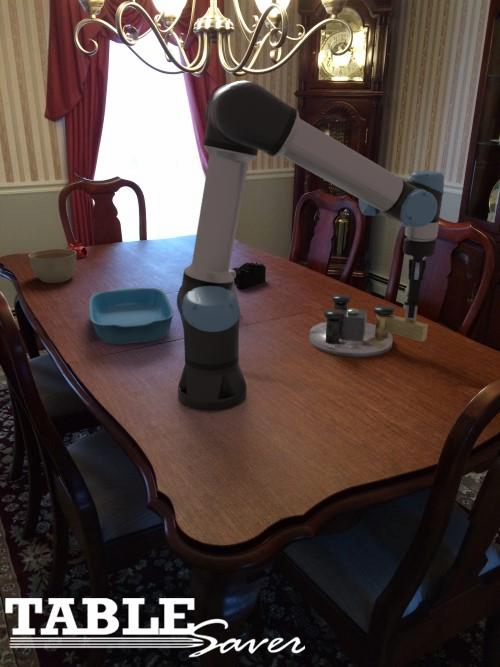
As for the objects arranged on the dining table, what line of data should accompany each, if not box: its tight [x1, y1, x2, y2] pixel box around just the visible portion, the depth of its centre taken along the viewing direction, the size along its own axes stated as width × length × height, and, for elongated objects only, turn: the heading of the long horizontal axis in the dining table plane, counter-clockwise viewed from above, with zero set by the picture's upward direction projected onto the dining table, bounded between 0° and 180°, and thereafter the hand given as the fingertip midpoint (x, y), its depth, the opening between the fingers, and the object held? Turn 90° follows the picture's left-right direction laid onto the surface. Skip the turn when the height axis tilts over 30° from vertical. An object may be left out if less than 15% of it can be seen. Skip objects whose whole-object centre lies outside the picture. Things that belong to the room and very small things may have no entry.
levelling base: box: [309, 293, 394, 358], centre depth 148 cm, size 22×22×10 cm
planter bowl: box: [28, 248, 77, 284], centre depth 198 cm, size 16×16×11 cm
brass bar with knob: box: [373, 304, 429, 343], centre depth 143 cm, size 15×5×8 cm, turn 45°
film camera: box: [231, 262, 267, 291], centre depth 197 cm, size 15×10×9 cm, turn 141°
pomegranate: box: [64, 239, 89, 260], centre depth 227 cm, size 10×10×9 cm
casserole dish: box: [88, 287, 174, 345], centre depth 158 cm, size 37×22×7 cm, turn 16°
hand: (409, 328), depth 143 cm, fingers closed
